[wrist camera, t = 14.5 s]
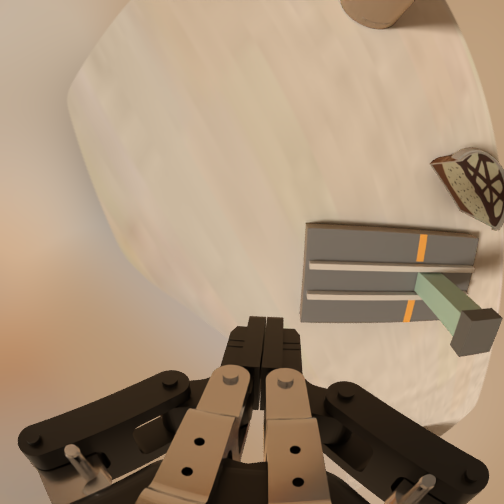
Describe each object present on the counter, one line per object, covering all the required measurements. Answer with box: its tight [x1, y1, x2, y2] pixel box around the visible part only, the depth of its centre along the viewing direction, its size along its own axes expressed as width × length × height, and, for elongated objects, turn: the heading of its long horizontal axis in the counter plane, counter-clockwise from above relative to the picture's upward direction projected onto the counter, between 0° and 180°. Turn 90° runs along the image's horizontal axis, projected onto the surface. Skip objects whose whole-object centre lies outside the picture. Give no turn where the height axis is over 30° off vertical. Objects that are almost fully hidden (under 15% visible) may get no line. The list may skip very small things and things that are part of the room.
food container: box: [430, 148, 504, 231], centre depth 31 cm, size 12×6×10 cm, turn 46°
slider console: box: [300, 223, 479, 323], centre depth 39 cm, size 14×28×4 cm, turn 90°
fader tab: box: [414, 272, 502, 357], centre depth 30 cm, size 4×5×16 cm
